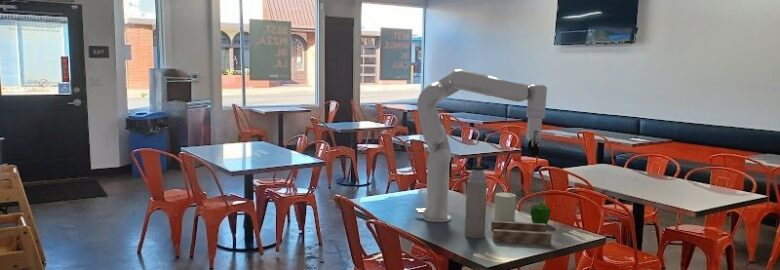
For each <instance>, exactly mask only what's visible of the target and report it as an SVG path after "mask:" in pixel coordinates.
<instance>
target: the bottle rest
mask: <svg viewBox="0 0 780 270" xmlns="http://www.w3.org/2000/svg"><path fill="white" fill-rule="evenodd" d="M490 225H491V226H490V227H491V228H490V232H491V238H492V242H493V243H503V242H504V243H506V244H508V243H509V244H521V245H523V244H524V245H539V246H540V245H541V246H551V245H552V232H547V224H541V223H533V222H522V221H521V222H520V221H514V222H507V221H495V220H491V224H490Z"/></svg>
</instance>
